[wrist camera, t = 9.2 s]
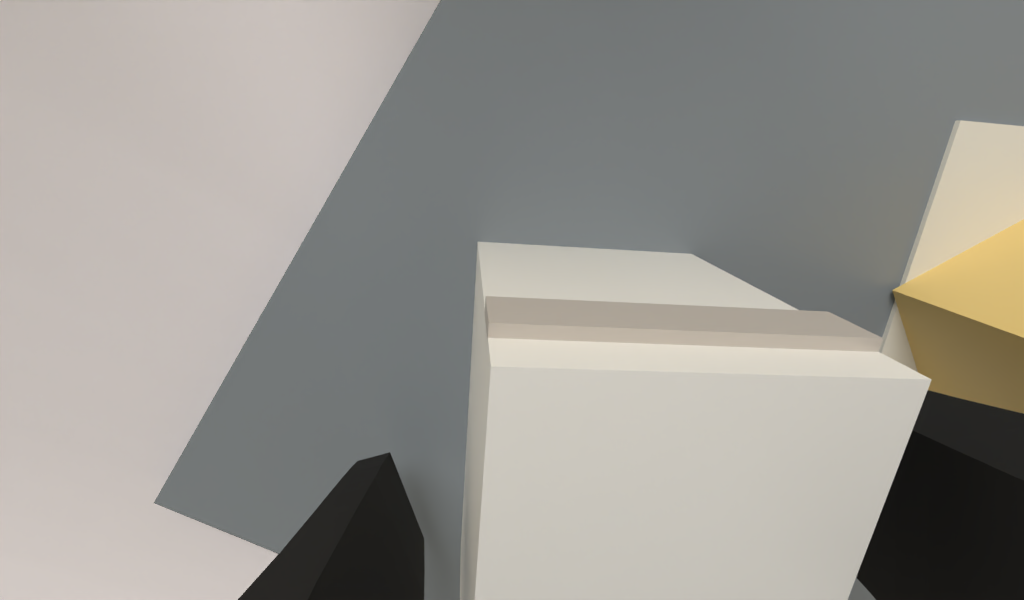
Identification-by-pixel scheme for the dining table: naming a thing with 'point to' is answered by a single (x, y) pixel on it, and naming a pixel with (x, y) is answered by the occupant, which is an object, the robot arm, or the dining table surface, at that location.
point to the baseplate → (604, 212)
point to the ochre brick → (971, 322)
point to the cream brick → (668, 433)
